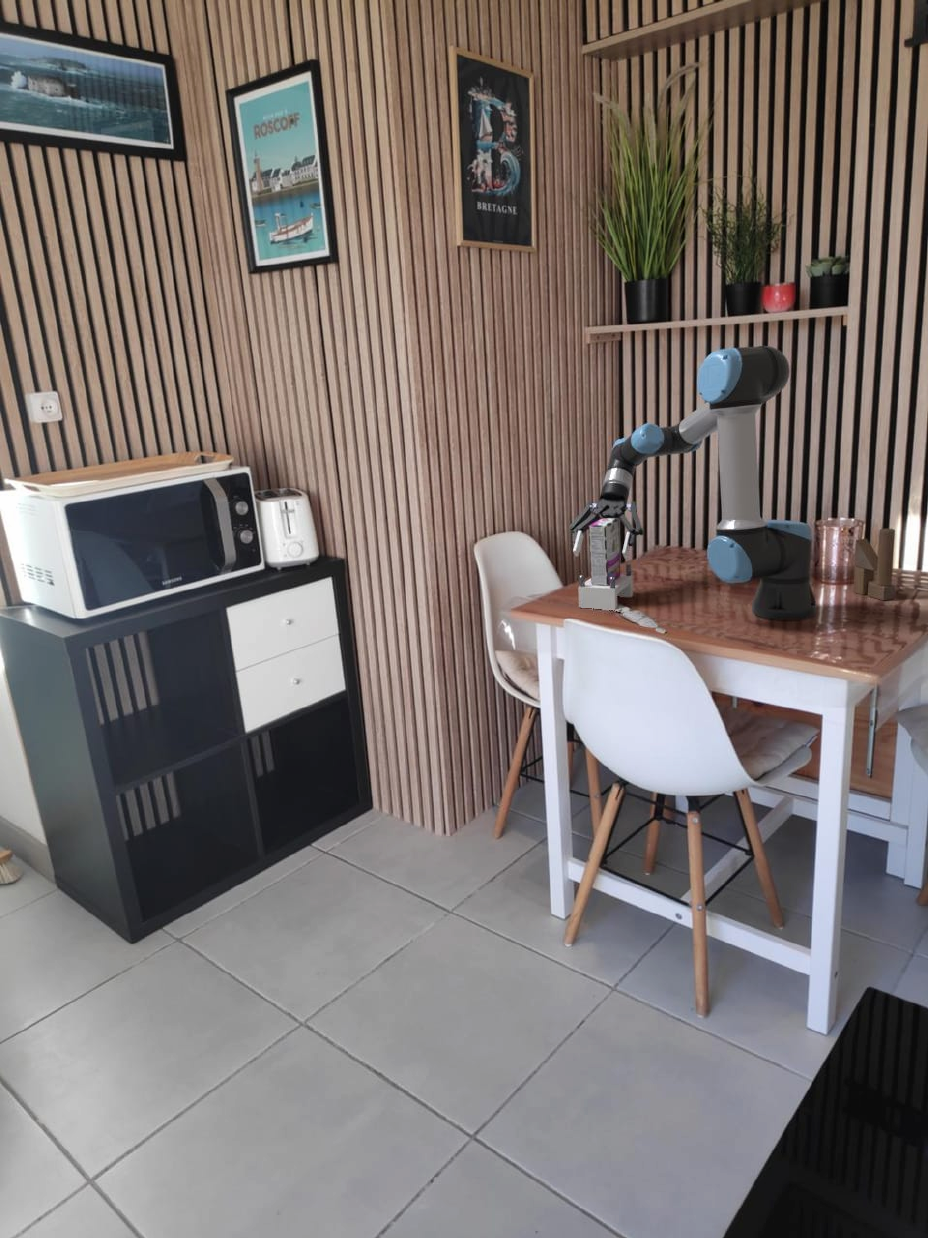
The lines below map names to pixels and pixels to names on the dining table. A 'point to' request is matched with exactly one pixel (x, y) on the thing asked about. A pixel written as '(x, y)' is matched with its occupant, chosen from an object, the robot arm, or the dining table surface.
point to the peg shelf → (605, 591)
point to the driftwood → (638, 617)
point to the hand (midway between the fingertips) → (599, 554)
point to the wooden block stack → (875, 567)
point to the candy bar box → (604, 551)
